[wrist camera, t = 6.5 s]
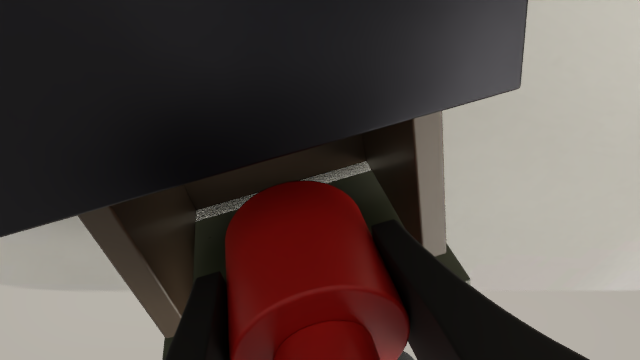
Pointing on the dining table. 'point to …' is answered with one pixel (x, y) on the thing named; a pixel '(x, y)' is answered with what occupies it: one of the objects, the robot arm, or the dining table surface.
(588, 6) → the dining table surface
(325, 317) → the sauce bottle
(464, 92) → the cabinet
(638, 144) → the dining table surface
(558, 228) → the dining table surface
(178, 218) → the drawer
